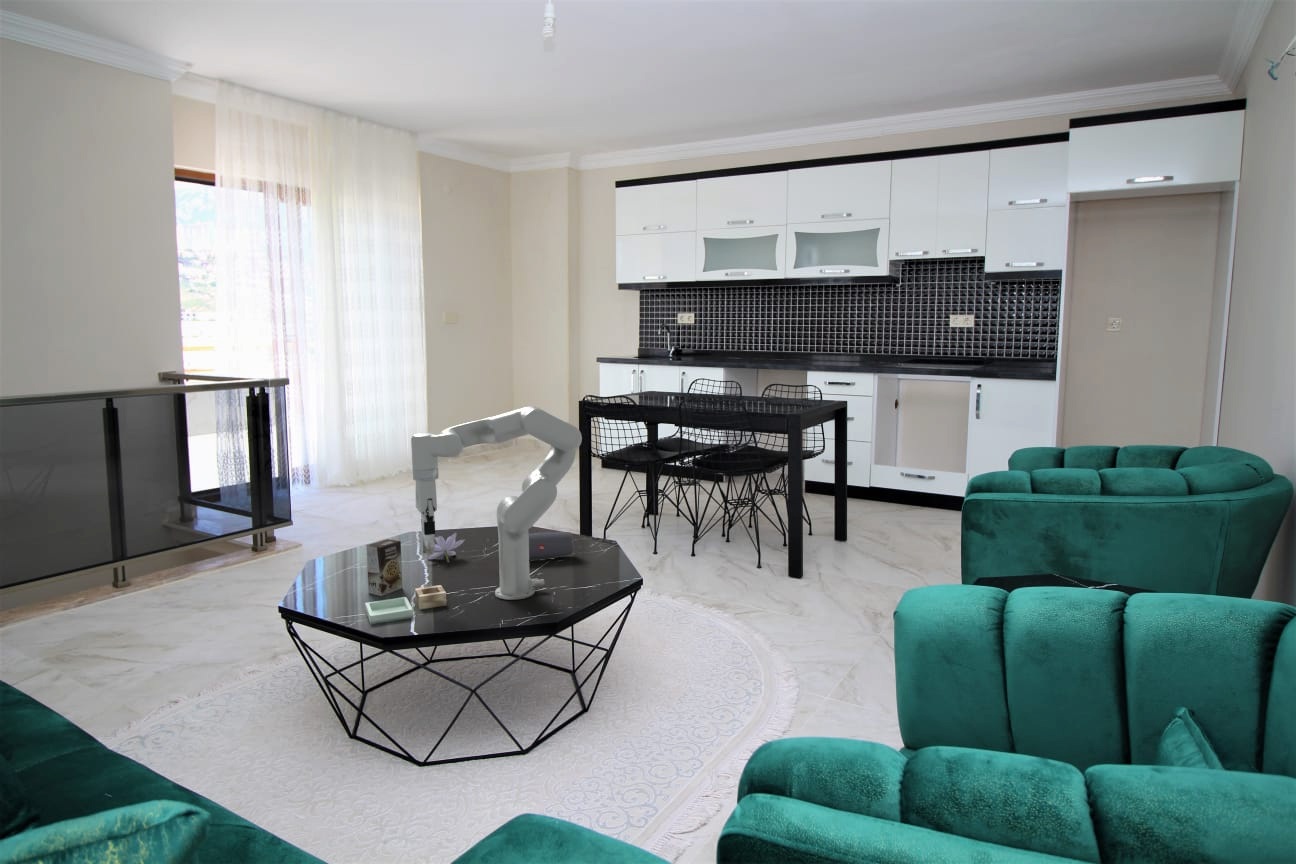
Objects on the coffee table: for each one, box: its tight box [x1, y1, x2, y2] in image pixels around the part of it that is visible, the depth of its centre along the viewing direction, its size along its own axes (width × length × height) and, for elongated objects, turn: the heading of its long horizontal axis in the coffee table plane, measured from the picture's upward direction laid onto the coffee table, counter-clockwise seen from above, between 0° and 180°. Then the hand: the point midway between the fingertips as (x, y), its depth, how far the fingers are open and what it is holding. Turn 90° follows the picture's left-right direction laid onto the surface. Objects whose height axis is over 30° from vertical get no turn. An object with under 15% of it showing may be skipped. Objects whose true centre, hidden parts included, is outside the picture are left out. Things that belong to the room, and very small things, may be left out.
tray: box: [364, 596, 414, 625], centre depth 236 cm, size 12×12×2 cm
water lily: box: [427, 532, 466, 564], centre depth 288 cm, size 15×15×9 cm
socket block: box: [414, 584, 447, 610], centre depth 245 cm, size 8×8×4 cm
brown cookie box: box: [366, 538, 403, 597], centre depth 255 cm, size 9×6×16 cm
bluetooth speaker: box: [529, 531, 574, 561], centre depth 290 cm, size 23×9×10 cm, turn 104°
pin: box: [421, 513, 436, 555], centre depth 242 cm, size 4×4×12 cm
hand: (428, 532), depth 242 cm, fingers closed on pin, 3 cm apart
